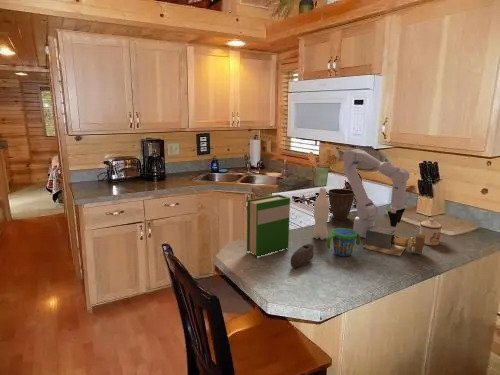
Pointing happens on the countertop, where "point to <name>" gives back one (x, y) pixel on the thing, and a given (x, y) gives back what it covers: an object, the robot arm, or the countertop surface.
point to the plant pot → (341, 202)
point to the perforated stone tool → (302, 256)
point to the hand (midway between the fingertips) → (395, 224)
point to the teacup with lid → (430, 231)
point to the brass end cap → (405, 242)
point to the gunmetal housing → (379, 237)
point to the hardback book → (268, 224)
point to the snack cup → (343, 241)
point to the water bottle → (321, 215)
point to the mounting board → (394, 250)
